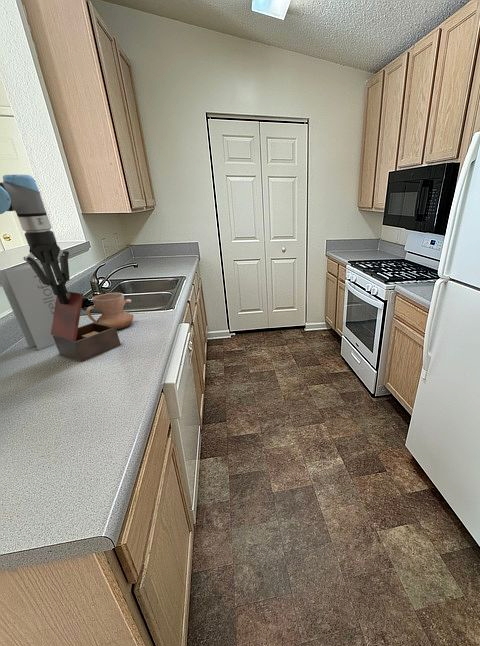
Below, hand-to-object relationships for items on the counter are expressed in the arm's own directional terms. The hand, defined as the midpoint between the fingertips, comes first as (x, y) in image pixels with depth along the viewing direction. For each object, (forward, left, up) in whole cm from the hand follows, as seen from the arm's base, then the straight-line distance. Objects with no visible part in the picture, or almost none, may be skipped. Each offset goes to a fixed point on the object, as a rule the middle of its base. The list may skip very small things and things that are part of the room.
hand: (64, 303), depth 115 cm
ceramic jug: (-3, +27, -20) cm, 34 cm away
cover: (0, 0, -4) cm, 4 cm away
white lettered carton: (-20, +10, -20) cm, 30 cm away
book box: (+1, +3, -20) cm, 20 cm away
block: (+2, +5, -19) cm, 20 cm away
